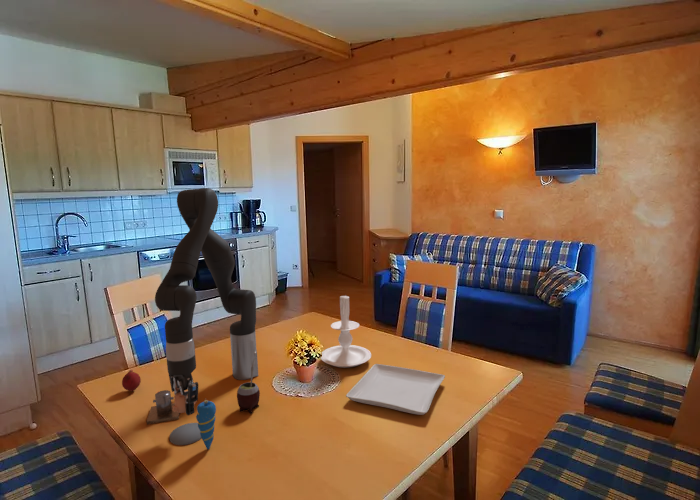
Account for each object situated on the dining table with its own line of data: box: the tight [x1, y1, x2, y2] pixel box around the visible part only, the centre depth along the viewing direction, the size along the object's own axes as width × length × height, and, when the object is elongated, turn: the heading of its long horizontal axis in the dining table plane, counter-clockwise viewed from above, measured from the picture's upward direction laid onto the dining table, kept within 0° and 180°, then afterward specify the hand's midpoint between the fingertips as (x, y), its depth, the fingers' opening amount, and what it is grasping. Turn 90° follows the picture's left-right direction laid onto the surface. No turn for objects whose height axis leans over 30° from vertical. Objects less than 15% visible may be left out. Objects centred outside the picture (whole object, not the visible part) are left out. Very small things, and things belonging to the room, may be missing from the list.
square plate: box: [345, 363, 446, 416], centre depth 142 cm, size 27×27×4 cm
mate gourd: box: [236, 358, 261, 415], centre depth 134 cm, size 8×8×15 cm
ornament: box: [195, 398, 217, 450], centre depth 113 cm, size 5×5×15 cm
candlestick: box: [320, 295, 372, 368], centre depth 168 cm, size 21×25×28 cm
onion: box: [121, 369, 142, 392], centre depth 147 cm, size 6×6×8 cm
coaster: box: [169, 422, 202, 446], centre depth 121 cm, size 10×10×1 cm
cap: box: [173, 390, 197, 414], centre depth 119 cm, size 5×7×5 cm
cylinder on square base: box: [146, 389, 181, 425], centre depth 132 cm, size 9×9×7 cm
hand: (185, 410), depth 120 cm, fingers closed on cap, 5 cm apart
